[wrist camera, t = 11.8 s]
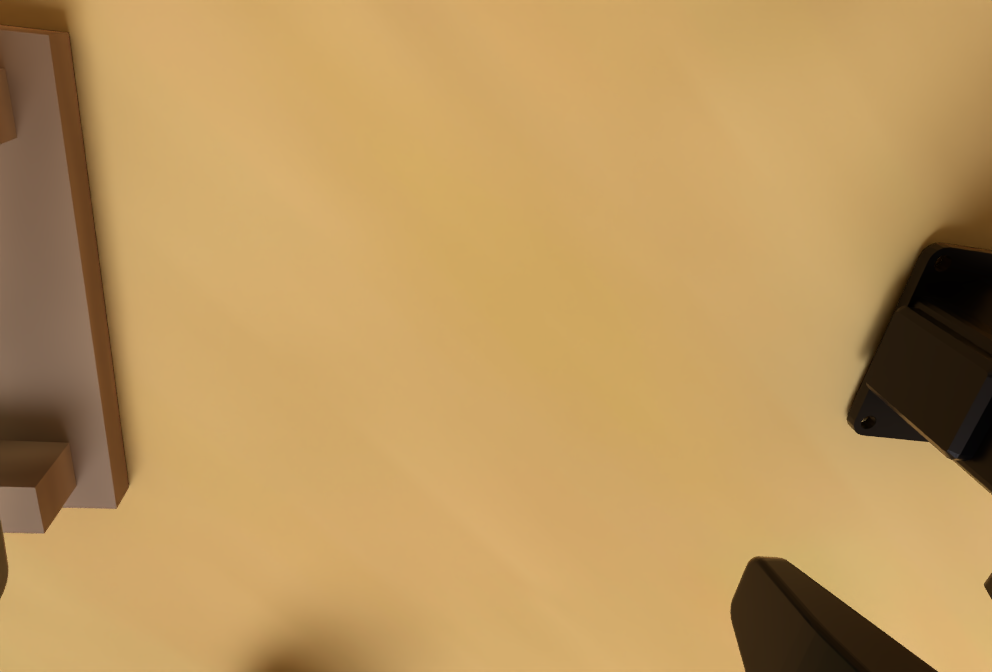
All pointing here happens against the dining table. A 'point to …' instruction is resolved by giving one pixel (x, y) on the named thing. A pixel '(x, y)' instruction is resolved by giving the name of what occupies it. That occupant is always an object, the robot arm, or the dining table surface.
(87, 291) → the rack
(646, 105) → the dining table surface
